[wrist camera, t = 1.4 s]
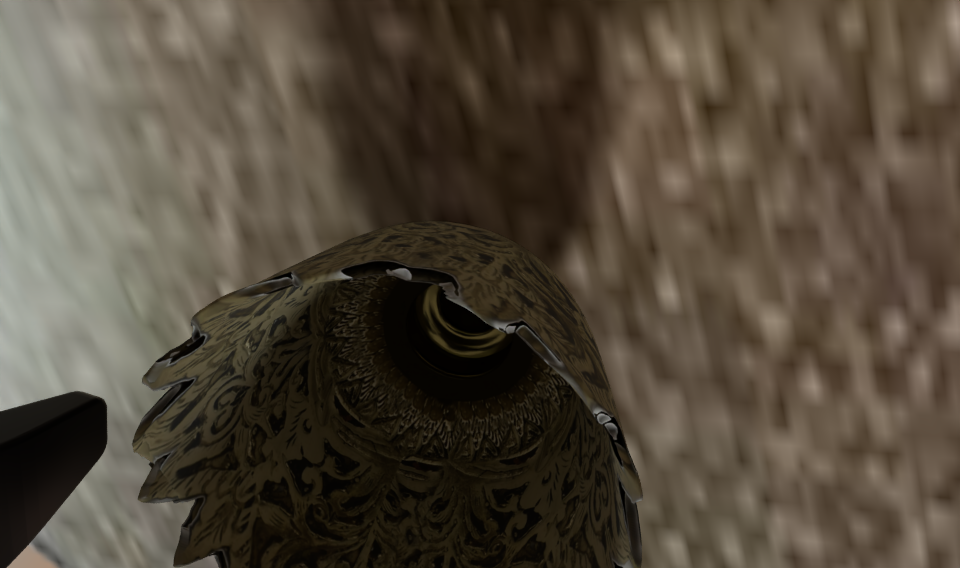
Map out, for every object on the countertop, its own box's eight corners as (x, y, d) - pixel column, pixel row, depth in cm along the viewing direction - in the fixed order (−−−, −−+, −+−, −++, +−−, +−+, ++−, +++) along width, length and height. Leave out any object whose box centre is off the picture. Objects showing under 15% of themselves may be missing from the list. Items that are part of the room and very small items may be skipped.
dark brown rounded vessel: (328, 388, 17) (140, 637, 10) (345, 135, 15) (99, 225, 7) (581, 448, 17) (575, 761, 9) (651, 194, 14) (722, 360, 7)
